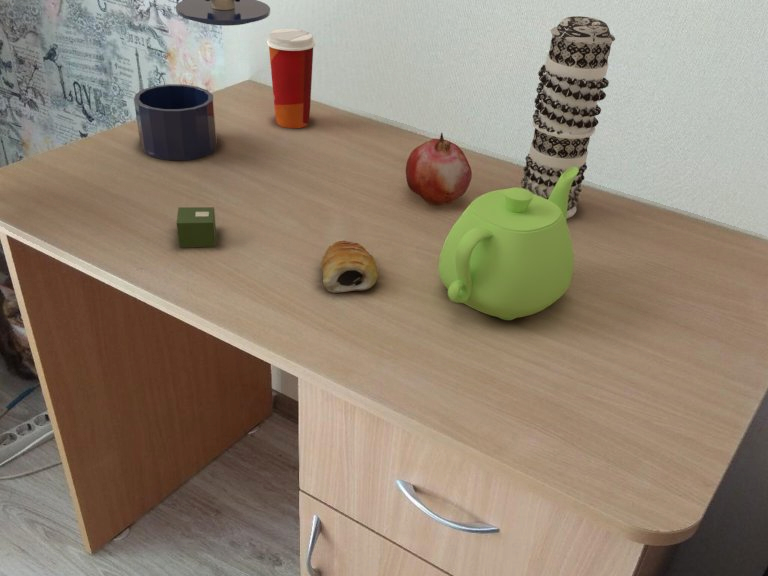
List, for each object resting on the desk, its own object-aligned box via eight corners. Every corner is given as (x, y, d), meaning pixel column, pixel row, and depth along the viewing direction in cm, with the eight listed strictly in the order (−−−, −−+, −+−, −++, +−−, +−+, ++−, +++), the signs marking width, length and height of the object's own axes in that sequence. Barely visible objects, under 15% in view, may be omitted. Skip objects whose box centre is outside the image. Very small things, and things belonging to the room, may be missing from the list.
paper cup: (296, 110, 136) (295, 25, 127) (324, 124, 131) (325, 37, 123) (259, 119, 131) (255, 31, 122) (287, 134, 127) (285, 44, 118)
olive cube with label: (179, 247, 97) (176, 222, 95) (181, 231, 100) (178, 206, 98) (215, 246, 98) (213, 221, 95) (216, 230, 101) (213, 206, 99)
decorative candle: (510, 213, 110) (543, 25, 94) (521, 187, 117) (553, 8, 101) (574, 226, 108) (619, 36, 92) (581, 199, 115) (624, 18, 99)
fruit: (417, 179, 117) (423, 113, 111) (476, 194, 114) (485, 127, 108) (391, 202, 110) (396, 133, 104) (453, 218, 108) (462, 149, 101)
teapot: (510, 238, 104) (527, 143, 96) (607, 283, 97) (635, 184, 88) (399, 297, 91) (408, 193, 83) (501, 354, 84) (522, 246, 75)
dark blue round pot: (138, 160, 116) (130, 110, 111) (145, 131, 125) (138, 83, 120) (216, 160, 118) (211, 111, 113) (217, 131, 126) (213, 84, 121)
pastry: (318, 254, 98) (318, 227, 95) (371, 254, 99) (373, 227, 96) (323, 295, 91) (323, 266, 88) (380, 294, 92) (382, 266, 89)
